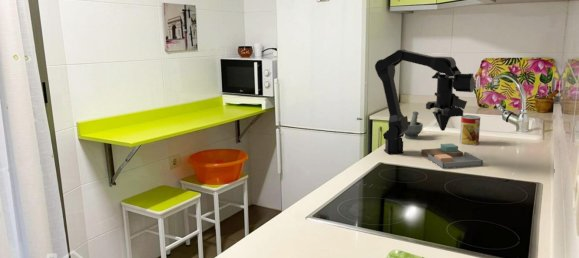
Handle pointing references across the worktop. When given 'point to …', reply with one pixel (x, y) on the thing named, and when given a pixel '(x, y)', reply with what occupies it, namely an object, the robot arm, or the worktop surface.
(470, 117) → the canned food
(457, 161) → the grey tray
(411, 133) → the mortar and pestle
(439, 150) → the walnut step
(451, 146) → the teal tile
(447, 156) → the terracotta tile
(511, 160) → the worktop surface
